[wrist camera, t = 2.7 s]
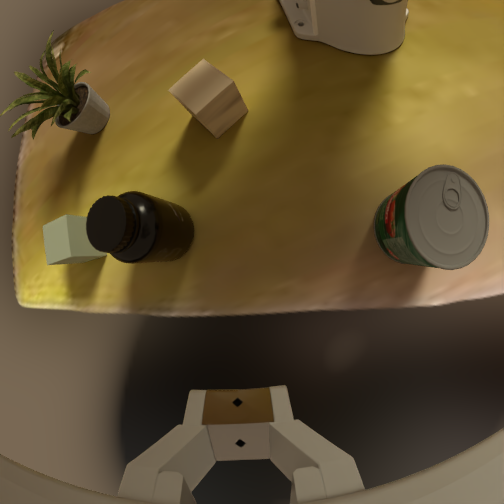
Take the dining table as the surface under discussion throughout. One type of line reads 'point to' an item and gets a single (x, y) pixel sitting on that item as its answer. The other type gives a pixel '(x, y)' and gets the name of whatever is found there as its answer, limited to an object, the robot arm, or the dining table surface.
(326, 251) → the dining table surface
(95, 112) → the house plant
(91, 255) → the sage block
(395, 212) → the canned tomato
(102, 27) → the dining table surface
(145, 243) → the supplement bottle
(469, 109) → the dining table surface
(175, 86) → the oak block
